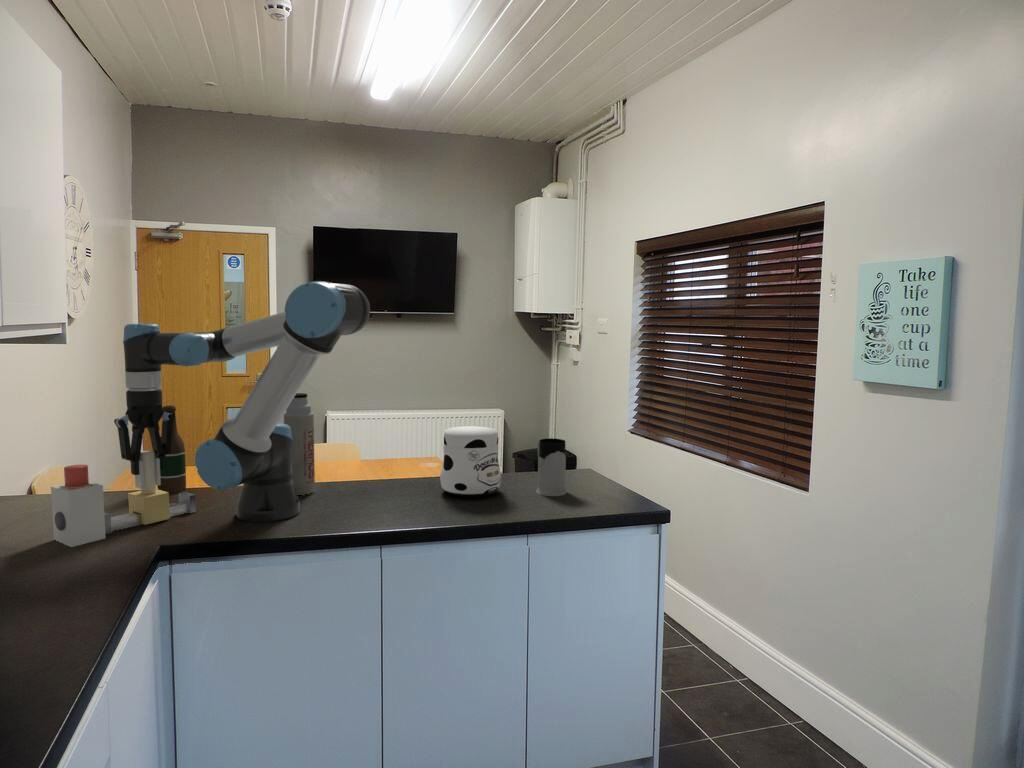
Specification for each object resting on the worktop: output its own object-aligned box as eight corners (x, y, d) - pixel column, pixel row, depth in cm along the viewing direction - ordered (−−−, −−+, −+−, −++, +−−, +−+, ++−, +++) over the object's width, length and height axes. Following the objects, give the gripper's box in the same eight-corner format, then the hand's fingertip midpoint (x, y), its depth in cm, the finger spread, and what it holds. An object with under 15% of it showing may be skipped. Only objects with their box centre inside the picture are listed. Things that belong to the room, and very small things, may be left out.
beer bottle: (163, 487, 195) (160, 404, 193) (191, 486, 196) (188, 404, 193) (151, 494, 187) (148, 408, 185) (180, 494, 188) (177, 408, 186)
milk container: (499, 501, 185) (500, 436, 183) (436, 500, 185) (436, 435, 184) (501, 485, 202) (502, 426, 201) (443, 484, 203) (444, 425, 201)
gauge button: (92, 484, 150) (91, 466, 149) (70, 488, 146) (69, 470, 146) (82, 481, 152) (81, 463, 152) (61, 485, 149) (60, 467, 148)
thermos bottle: (320, 491, 193) (319, 393, 190) (298, 497, 186) (296, 396, 184) (301, 487, 197) (299, 391, 194) (279, 493, 191) (277, 393, 188)
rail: (196, 512, 172) (195, 494, 171) (104, 535, 153) (103, 515, 153) (184, 508, 174) (184, 491, 174) (93, 530, 156) (92, 511, 156)
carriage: (169, 518, 165) (167, 451, 163) (145, 525, 160) (142, 456, 158) (154, 513, 169) (151, 448, 167) (129, 519, 164) (126, 452, 162)
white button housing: (105, 538, 151) (103, 485, 150) (69, 547, 145) (66, 492, 144) (87, 531, 156) (85, 480, 154) (51, 540, 149) (48, 486, 148)
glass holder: (543, 497, 190) (544, 444, 189) (524, 485, 203) (525, 435, 202) (571, 494, 193) (573, 442, 192) (551, 482, 207) (552, 434, 205)
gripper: (169, 385, 170) (172, 477, 172) (99, 390, 156) (104, 490, 159) (185, 387, 166) (189, 481, 168) (116, 393, 152) (120, 495, 155)
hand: (148, 485), depth 163 cm, fingers closed on carriage, 3 cm apart
